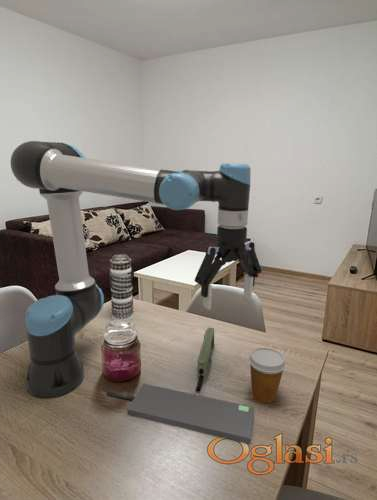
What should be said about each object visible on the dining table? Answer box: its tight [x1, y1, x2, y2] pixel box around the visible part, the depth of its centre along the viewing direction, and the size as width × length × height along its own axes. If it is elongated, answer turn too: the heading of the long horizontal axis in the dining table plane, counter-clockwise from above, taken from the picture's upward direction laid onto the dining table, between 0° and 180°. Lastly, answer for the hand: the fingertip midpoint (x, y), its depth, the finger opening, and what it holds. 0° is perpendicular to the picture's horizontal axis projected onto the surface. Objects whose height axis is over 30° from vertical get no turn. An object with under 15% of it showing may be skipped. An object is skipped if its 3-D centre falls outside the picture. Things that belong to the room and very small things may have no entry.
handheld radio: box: [195, 327, 215, 393], centre depth 100 cm, size 7×3×25 cm
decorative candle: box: [108, 253, 134, 321], centre depth 128 cm, size 9×9×25 cm
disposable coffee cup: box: [248, 346, 287, 404], centre depth 87 cm, size 10×10×12 cm
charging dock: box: [106, 383, 255, 444], centre depth 83 cm, size 38×10×2 cm, turn 74°
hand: (227, 302), depth 89 cm, fingers open, 13 cm apart
